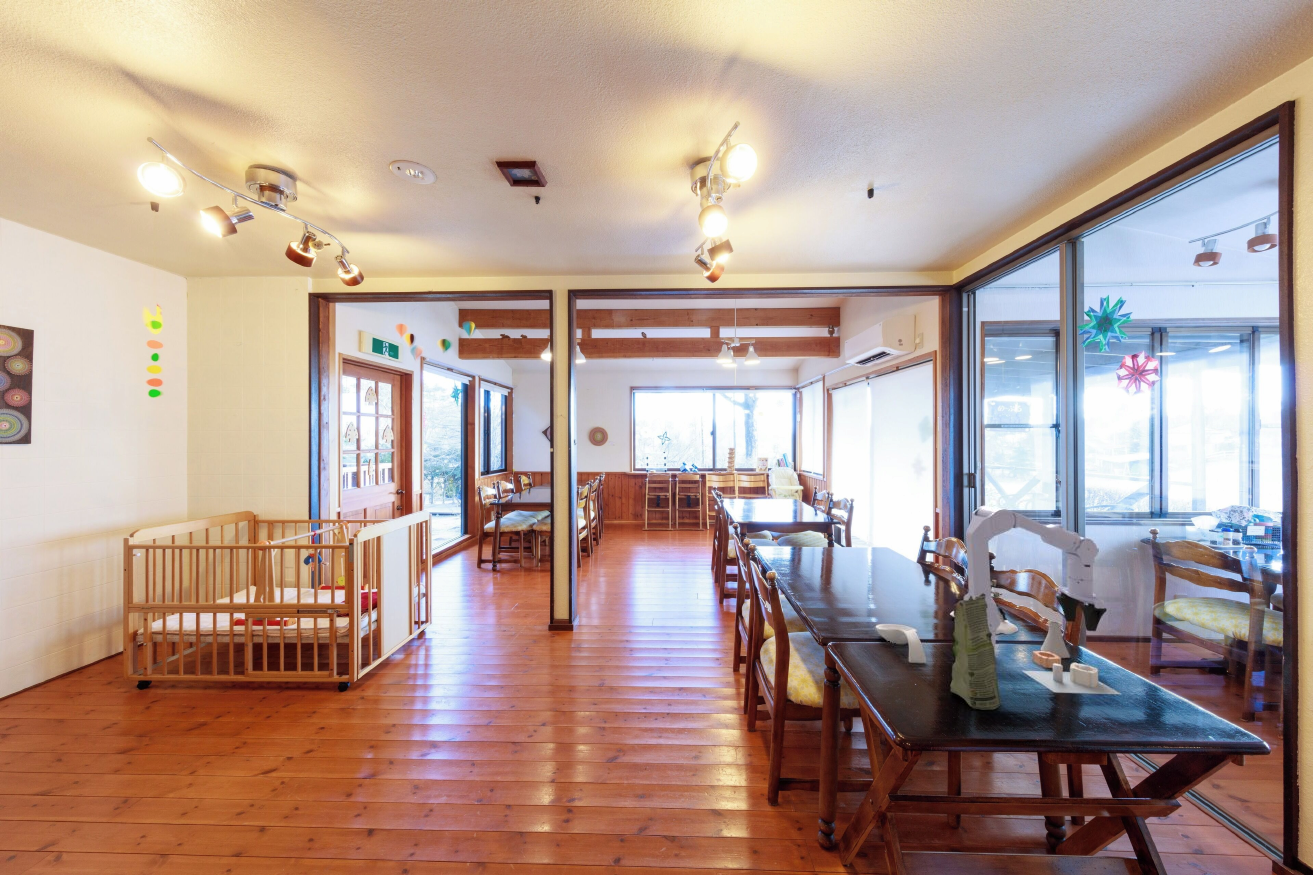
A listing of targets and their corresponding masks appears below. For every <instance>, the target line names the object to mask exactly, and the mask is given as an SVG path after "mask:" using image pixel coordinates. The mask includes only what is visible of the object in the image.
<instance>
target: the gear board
mask: <svg viewBox="0 0 1313 875" xmlns="http://www.w3.org/2000/svg"><path fill="white" fill-rule="evenodd" d="M1078 664H1079V669H1082V670H1085V671H1089V666H1090V665H1088V666H1087V664H1084V665H1083V663H1078ZM1022 672H1023V673H1024V674H1025V675H1027V676H1029V677H1030V678H1032V679H1033V680H1034V681H1036V682H1037V683H1039V684H1041V685H1042V686H1044V687H1045V688H1047V689H1049V691H1051V692H1053V693H1058V694H1059V693H1060V694H1062V693H1063V694H1093V695H1096V694H1097V695H1123V694H1122V693H1121V692H1119V691H1118V690H1116V689H1115V688H1112V687H1111V686H1108V685H1107V684H1105V683H1103V682H1101V681H1099V680H1098V685H1097V686H1096V687H1091V686H1085V685H1082V684H1078V683H1076V682H1072V681H1070V671H1064V666H1063V665H1062V664H1061V665H1060V664H1055V663H1054V664H1053V668H1052V671H1049V670H1048V671H1045V670H1044V671H1043V670H1036V671H1035V670H1022Z"/></svg>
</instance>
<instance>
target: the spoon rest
mask: <svg viewBox="0 0 1313 875" xmlns="http://www.w3.org/2000/svg"><path fill="white" fill-rule="evenodd" d="M875 629H876V632H877V633H878V634H879V636H881V637H882V638H883V639H884V640H886V641H887V642H888V641H890V642H889V643H891V642H892V643H891V644H894V643H896V644H895V645H906V644H908V662H909V663H911V664H926V663H927V657H926V654H925V650H924V648H923V644H922V643H921V640H920V638H919V636H918V634H917V633H918V630H917V629H916V628H913V627H911V626H907V625H904V624H903V625H902V624H898V623H897V624H894V623H881V624H880V623H879V624H877V625H875Z"/></svg>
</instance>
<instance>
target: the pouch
mask: <svg viewBox="0 0 1313 875" xmlns="http://www.w3.org/2000/svg"><path fill="white" fill-rule="evenodd" d="M985 597H986V595H985V594H984V593H982V594H981V595H980V596H979V597H975V598H974V600H973V598H972V596H970V598H969V599H968V600H964V599H962V600H959V601H957V603H955V604H953V608H954V610H953V611H954V616H953V619H954V631H953V634H952V636H953V637H954V645H953V646H952V652H953V654H954V655H955V662H954V663H953V664H952V666H951V670H952V671H951V677H952V679H951V683H950V692H951V693H953V694H956V695H957V696H959V697H961V698H962V699H964V701H965V702H966V703H967V704H968V705H969V707H971V708H972V709H977V710H984V711H985V710H986V711H988V710H995V709H997V708H999V707H1000V705H1001V704H1002V703H1001V696H1000V691H999V681H998V675H997V668H996V667H997V660H996V651H995V652H994V646H993V644H992V640H991V636H992V634H991V632H990V630H989V627H988V619H987V617H988V616H987V611H986V610H987V608H988V606H987V603H986V601H985Z"/></svg>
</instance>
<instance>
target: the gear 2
mask: <svg viewBox="0 0 1313 875" xmlns="http://www.w3.org/2000/svg"><path fill="white" fill-rule="evenodd" d="M1079 664H1080V663H1077V662H1072V663H1071V664H1070V667H1069V672H1070V681H1072V682H1076V683H1078V684H1082V685H1085V686H1091V687H1096V686H1097V685H1098V681H1099V669H1098V668H1096V667H1093V666H1092V665H1087V664H1086V665H1087V666H1089V671H1085V670H1082V669H1079ZM1082 664H1083V663H1082ZM1083 665H1085V663H1084V664H1083Z"/></svg>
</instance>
